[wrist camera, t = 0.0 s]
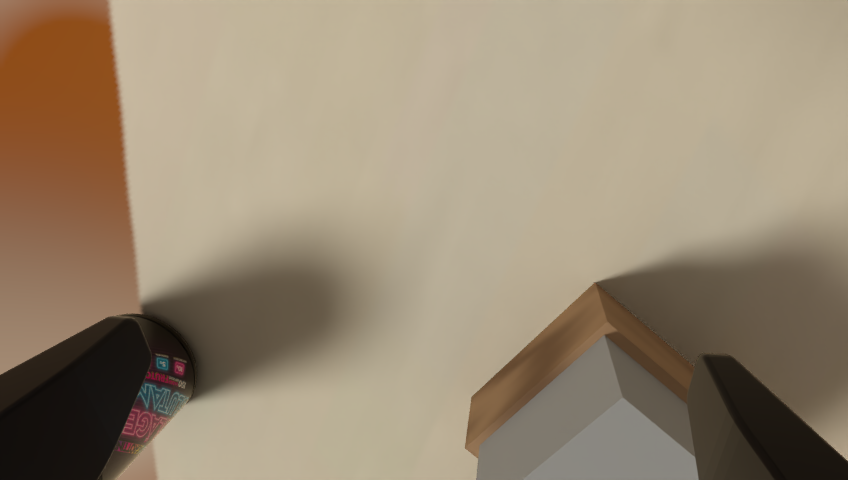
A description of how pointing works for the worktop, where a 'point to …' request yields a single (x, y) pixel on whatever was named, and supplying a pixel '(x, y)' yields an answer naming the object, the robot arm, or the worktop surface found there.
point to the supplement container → (155, 393)
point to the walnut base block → (571, 360)
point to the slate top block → (595, 427)
